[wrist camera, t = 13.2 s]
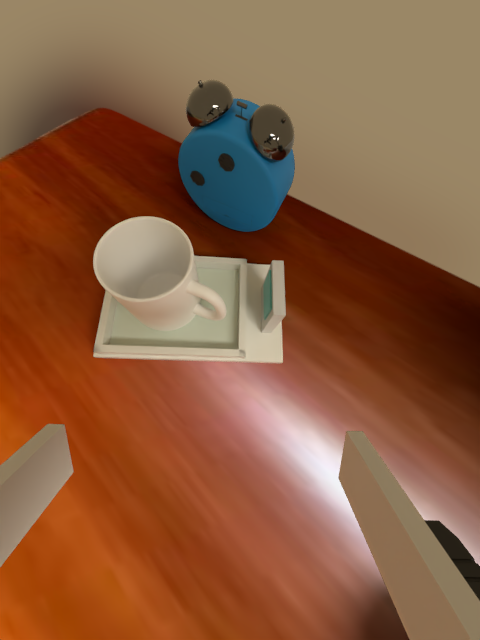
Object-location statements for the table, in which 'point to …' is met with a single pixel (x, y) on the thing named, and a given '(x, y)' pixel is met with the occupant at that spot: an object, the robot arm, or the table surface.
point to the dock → (203, 334)
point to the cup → (154, 273)
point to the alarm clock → (236, 157)
